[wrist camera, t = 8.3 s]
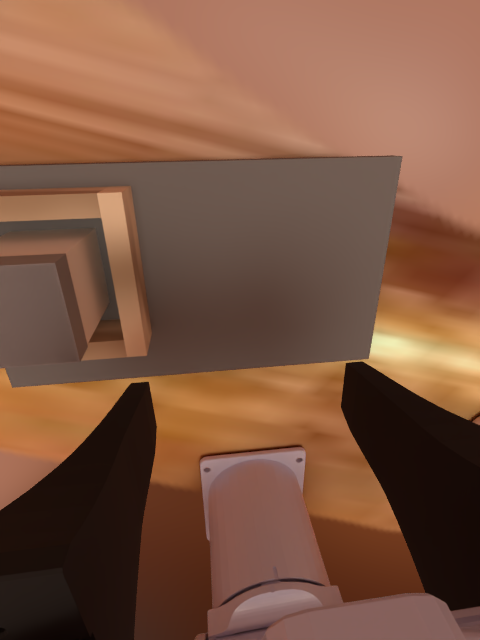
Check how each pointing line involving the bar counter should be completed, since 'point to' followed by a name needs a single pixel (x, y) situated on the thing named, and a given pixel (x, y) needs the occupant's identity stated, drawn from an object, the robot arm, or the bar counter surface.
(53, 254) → the plug
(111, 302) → the mat
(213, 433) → the bar counter surface
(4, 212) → the frame
